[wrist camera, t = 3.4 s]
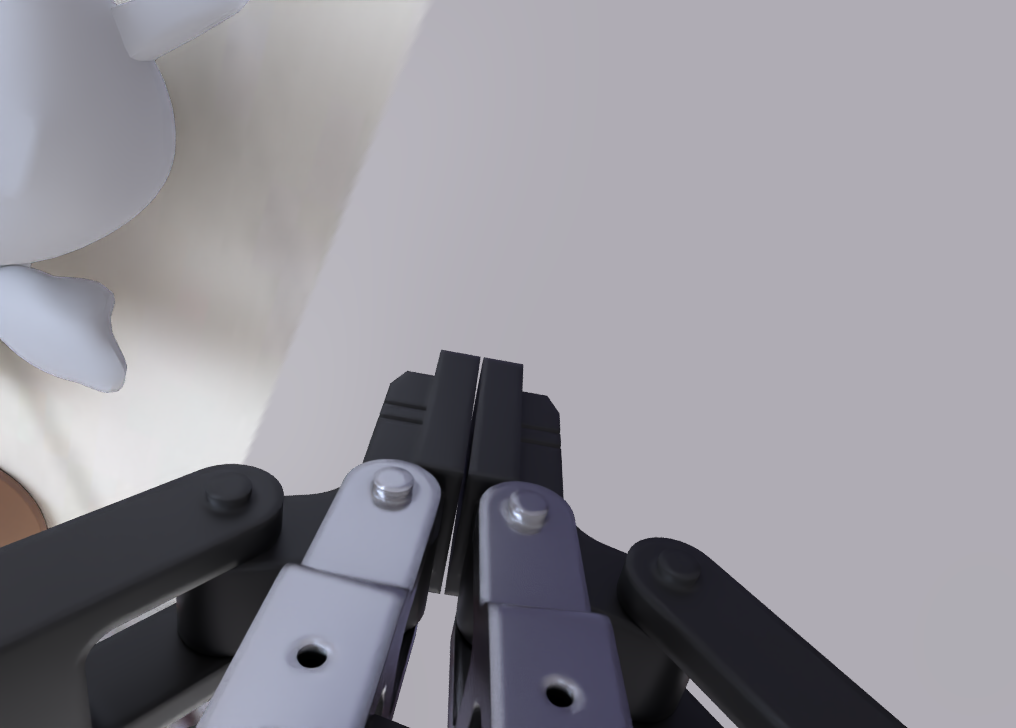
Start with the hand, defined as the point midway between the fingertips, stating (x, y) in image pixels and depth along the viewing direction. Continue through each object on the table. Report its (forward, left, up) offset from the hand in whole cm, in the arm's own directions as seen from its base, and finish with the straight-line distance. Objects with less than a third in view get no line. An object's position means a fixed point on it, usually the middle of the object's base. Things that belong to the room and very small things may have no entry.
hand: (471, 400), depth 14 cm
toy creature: (-12, -7, -13) cm, 19 cm away
